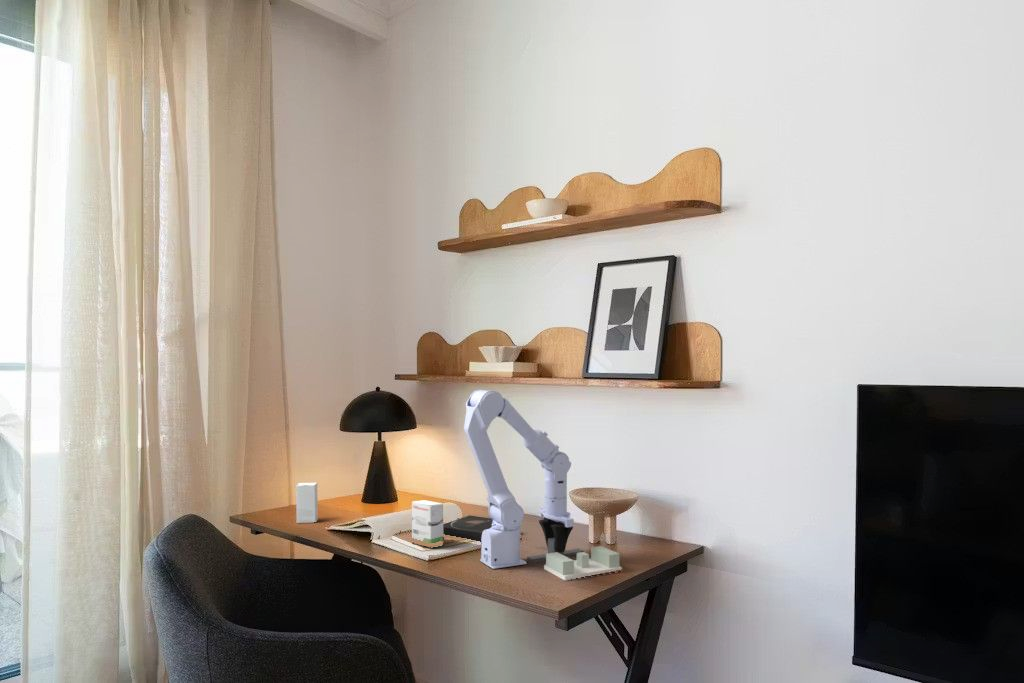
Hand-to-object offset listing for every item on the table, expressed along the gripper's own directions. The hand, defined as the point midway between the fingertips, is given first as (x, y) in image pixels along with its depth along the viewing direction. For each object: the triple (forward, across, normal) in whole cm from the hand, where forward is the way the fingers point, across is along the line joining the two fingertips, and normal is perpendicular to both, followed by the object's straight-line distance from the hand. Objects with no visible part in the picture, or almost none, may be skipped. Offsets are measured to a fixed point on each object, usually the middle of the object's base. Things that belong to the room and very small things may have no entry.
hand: (555, 549), depth 179 cm
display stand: (+2, -13, 0) cm, 13 cm away
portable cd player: (+3, +29, +10) cm, 31 cm away
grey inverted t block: (+2, 0, 0) cm, 2 cm away
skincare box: (+2, +69, +51) cm, 86 cm away
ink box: (+2, +26, +26) cm, 37 cm away
